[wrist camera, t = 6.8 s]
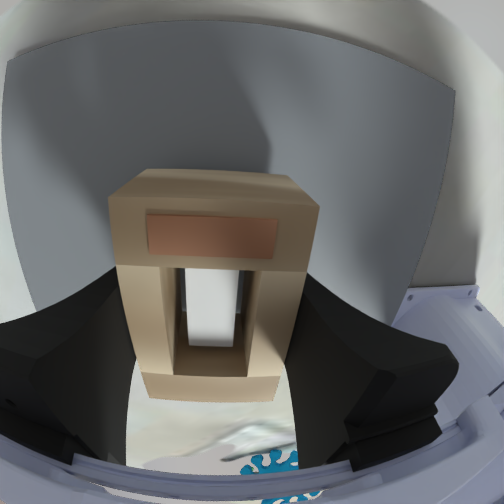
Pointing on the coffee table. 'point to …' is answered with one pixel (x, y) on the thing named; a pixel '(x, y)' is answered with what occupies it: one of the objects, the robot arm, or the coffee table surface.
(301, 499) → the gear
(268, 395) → the open rectangular tan frame
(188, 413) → the coffee table surface
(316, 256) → the board
